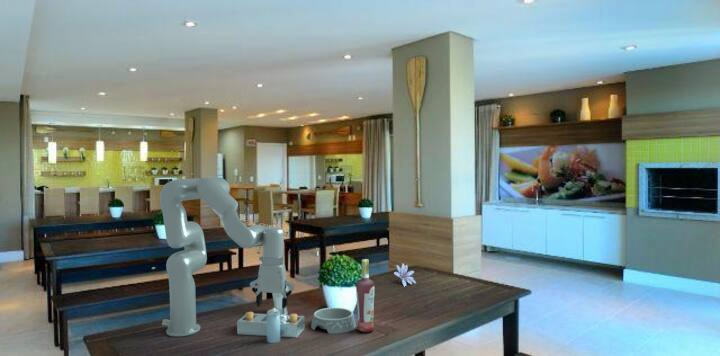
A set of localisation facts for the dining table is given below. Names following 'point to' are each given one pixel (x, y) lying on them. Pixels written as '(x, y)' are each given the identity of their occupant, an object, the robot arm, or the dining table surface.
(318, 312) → the dog bowl
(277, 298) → the beer glass
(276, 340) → the cylinder
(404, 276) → the water lily
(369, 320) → the liquor
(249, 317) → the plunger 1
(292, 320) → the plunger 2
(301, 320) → the housing
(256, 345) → the dining table surface
